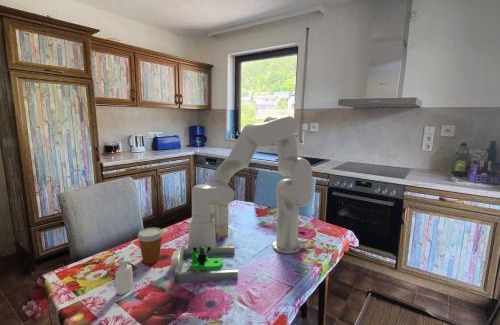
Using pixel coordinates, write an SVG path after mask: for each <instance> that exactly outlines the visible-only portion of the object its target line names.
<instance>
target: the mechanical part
mask: <svg viewBox="0 0 500 325" xmlns="http://www.w3.org/2000/svg"><path fill="white" fill-rule="evenodd" d="M200 248H201V251H202V252H203V250H204V247H200ZM191 259H192V261H191V266H190V272H191V271H192V272H195V271H218V270H220V269H222V268H223V266H224V258H223V257H213V258H212V257H211V258H209V257H208V255H207V254H206V261H204V264H201V265H200V261H198V254H197V253H196V252H195V251H194V250H193V251H192V256H191Z"/></svg>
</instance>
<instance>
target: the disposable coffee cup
mask: <svg viewBox="0 0 500 325" xmlns="http://www.w3.org/2000/svg"><path fill="white" fill-rule="evenodd" d="M163 234H164V232H162V229H161V228H159V227H147V228H144V229H143V228H142V229H141V230H139V232H138V234H137V239H138V242H139V247H140V253H141V257H142V263H144V264H150V265H151V264H154V263H157V262H158V261H159V260H160V256H161V248H162V247H161V245H162V237H163Z"/></svg>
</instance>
